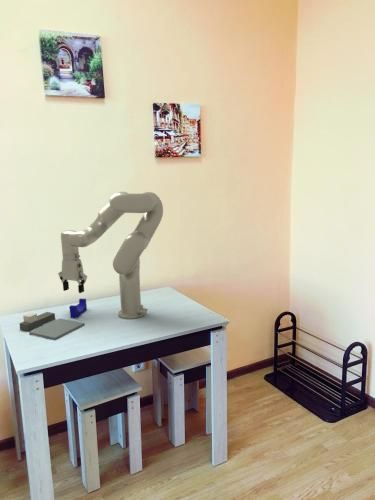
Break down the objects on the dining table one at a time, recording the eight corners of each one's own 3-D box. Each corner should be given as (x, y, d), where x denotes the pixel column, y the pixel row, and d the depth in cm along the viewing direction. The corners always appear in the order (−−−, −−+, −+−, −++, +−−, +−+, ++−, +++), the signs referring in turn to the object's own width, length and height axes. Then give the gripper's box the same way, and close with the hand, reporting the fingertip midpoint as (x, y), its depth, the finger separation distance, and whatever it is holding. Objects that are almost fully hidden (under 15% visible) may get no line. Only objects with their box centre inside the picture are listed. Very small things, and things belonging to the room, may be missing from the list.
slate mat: (84, 325, 187) (84, 323, 187) (55, 340, 172) (54, 337, 171) (60, 320, 194) (59, 318, 194) (29, 334, 179) (29, 332, 178)
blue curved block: (78, 309, 209) (77, 298, 207) (86, 310, 208) (86, 298, 206) (67, 318, 197) (66, 306, 196) (76, 318, 196) (75, 306, 195)
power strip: (55, 319, 195) (54, 307, 194) (28, 331, 182) (26, 318, 180) (47, 317, 198) (46, 305, 197) (20, 329, 184) (18, 316, 183)
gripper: (90, 256, 196) (92, 291, 200) (63, 253, 204) (66, 287, 208) (79, 259, 190) (82, 295, 193) (51, 256, 198) (54, 291, 201)
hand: (73, 291), depth 200 cm, fingers open, 9 cm apart
